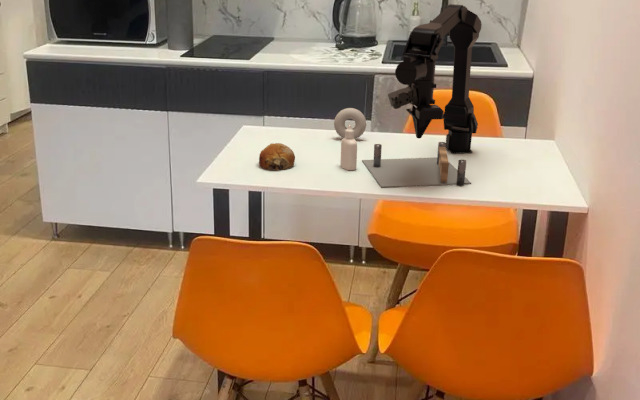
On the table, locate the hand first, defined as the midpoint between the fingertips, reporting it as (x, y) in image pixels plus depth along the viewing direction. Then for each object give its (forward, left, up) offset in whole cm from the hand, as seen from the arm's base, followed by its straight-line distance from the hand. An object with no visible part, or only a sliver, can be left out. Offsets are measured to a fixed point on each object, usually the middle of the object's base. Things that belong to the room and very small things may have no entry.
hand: (418, 137), depth 187 cm
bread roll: (+36, -14, -11) cm, 40 cm away
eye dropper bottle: (+16, -10, -11) cm, 22 cm away
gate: (-7, 0, -10) cm, 12 cm away
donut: (+10, -37, -11) cm, 39 cm away
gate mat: (-1, -4, -11) cm, 11 cm away
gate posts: (-1, -1, -11) cm, 11 cm away
